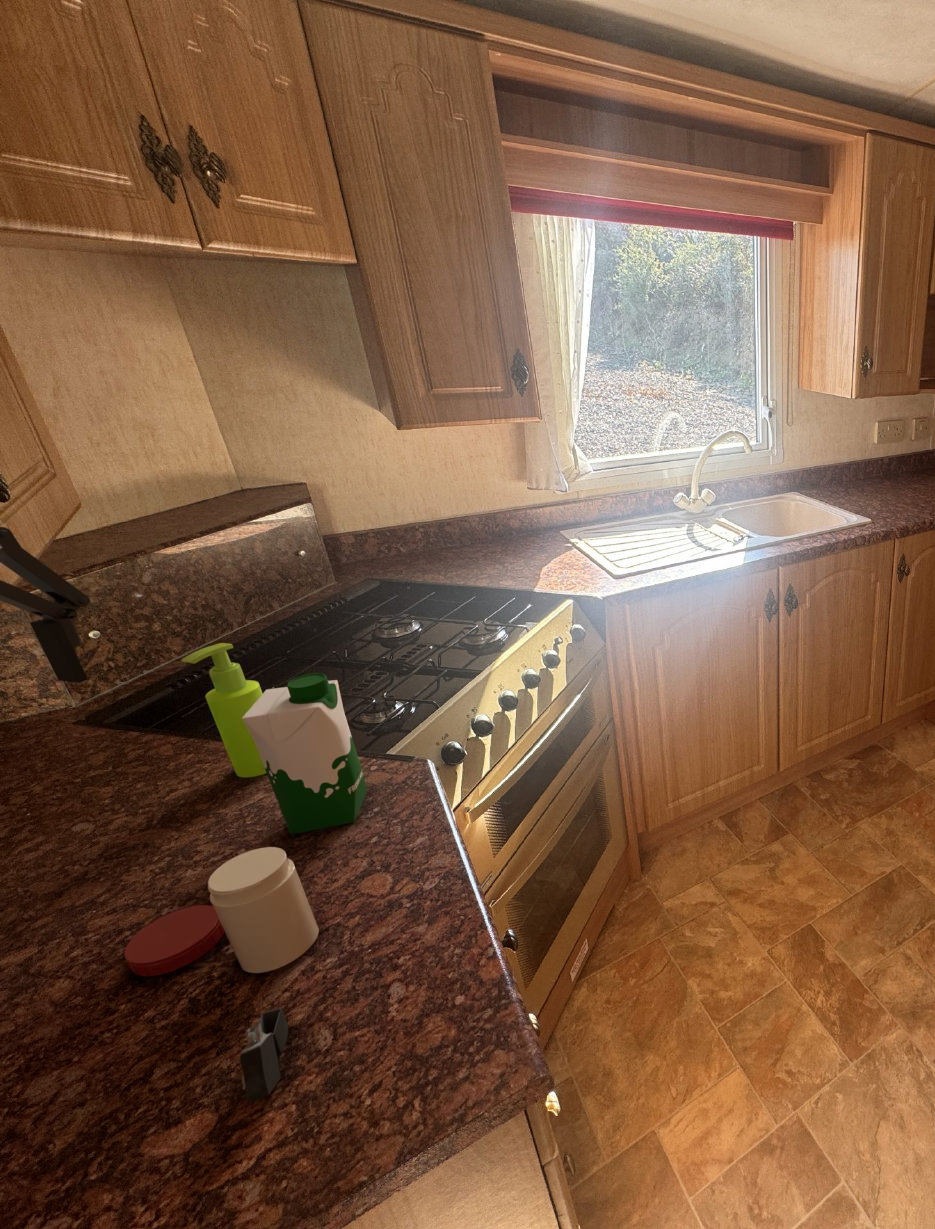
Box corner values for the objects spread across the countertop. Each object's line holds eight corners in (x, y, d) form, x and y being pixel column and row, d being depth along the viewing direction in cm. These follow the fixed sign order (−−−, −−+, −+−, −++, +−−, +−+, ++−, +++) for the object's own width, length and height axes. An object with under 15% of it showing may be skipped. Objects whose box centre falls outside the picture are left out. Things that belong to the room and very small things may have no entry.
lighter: (266, 1070, 59) (256, 1012, 59) (294, 1058, 60) (284, 1001, 60) (237, 1108, 52) (225, 1043, 52) (269, 1094, 53) (258, 1030, 53)
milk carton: (360, 825, 85) (317, 693, 78) (278, 841, 82) (225, 706, 75) (376, 786, 93) (339, 662, 85) (301, 799, 90) (256, 673, 82)
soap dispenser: (218, 778, 94) (167, 655, 87) (265, 752, 100) (222, 635, 93) (249, 784, 93) (200, 660, 85) (295, 757, 99) (254, 640, 92)
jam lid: (231, 943, 68) (225, 930, 68) (134, 990, 63) (126, 977, 62) (219, 906, 73) (213, 893, 72) (127, 947, 68) (120, 934, 67)
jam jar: (233, 948, 68) (197, 870, 64) (309, 910, 72) (280, 835, 68) (248, 985, 64) (211, 905, 60) (327, 942, 68) (297, 865, 64)
